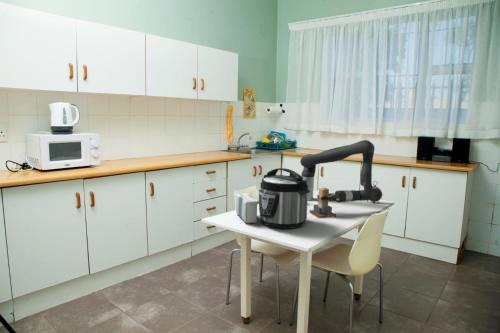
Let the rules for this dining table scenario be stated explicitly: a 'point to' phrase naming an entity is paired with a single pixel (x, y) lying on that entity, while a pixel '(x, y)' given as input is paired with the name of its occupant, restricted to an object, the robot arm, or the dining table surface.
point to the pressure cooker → (283, 199)
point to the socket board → (322, 212)
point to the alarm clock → (376, 194)
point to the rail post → (323, 193)
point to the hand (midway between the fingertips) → (319, 197)
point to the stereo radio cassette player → (247, 207)
